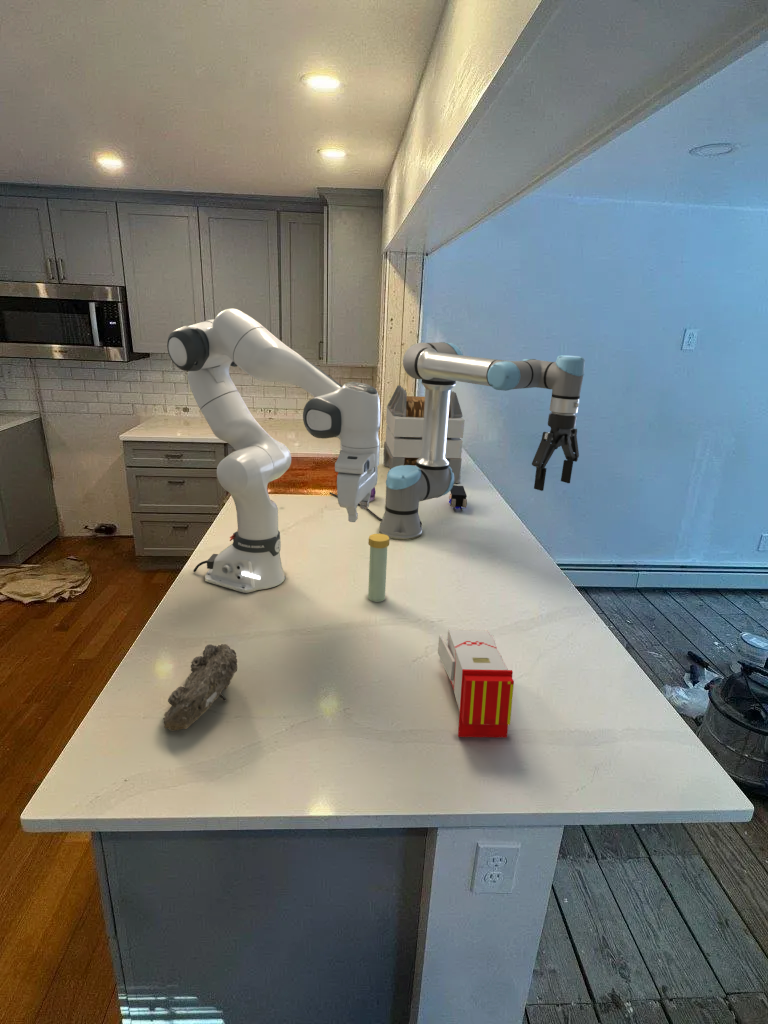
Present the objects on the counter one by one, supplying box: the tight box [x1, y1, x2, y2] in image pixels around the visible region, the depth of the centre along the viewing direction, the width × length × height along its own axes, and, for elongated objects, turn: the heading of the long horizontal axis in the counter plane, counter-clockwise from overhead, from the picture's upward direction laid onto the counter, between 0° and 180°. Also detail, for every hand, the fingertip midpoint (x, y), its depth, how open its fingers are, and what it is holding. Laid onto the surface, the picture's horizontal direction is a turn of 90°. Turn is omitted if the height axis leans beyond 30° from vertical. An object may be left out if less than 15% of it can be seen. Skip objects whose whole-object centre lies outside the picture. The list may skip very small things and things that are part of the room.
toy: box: [437, 628, 515, 738], centre depth 117 cm, size 12×13×30 cm
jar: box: [367, 545, 388, 603], centre depth 152 cm, size 5×5×17 cm
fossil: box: [162, 643, 238, 732], centre depth 111 cm, size 22×10×15 cm
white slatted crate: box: [383, 384, 465, 484], centre depth 268 cm, size 34×33×41 cm
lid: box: [367, 533, 390, 548], centre depth 150 cm, size 6×6×2 cm
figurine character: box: [448, 484, 468, 512], centre depth 228 cm, size 7×8×15 cm
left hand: (358, 514), depth 132 cm, fingers open, 8 cm apart
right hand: (552, 485), depth 166 cm, fingers open, 13 cm apart
